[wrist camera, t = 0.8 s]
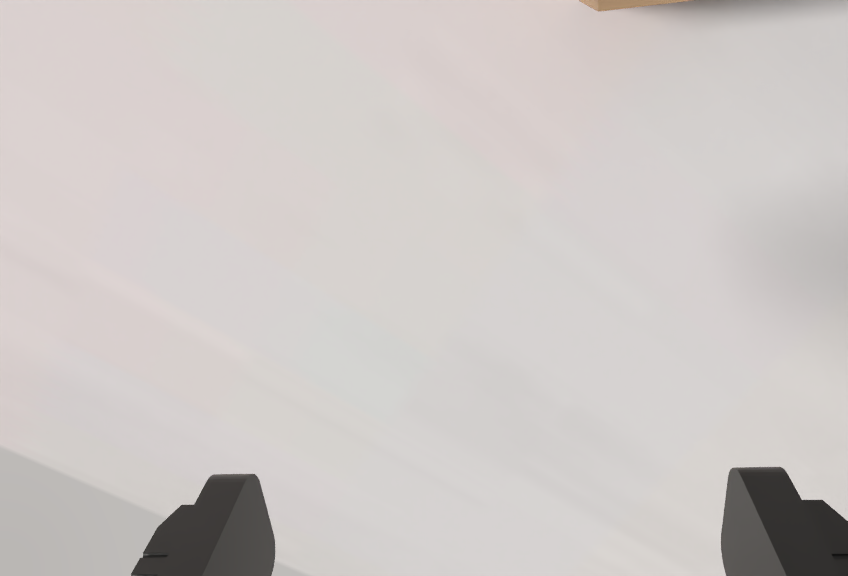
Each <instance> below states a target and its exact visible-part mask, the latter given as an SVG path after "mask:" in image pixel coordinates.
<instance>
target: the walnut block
mask: <svg viewBox="0 0 848 576" xmlns="http://www.w3.org/2000/svg"><path fill="white" fill-rule="evenodd" d="M579 1H581V2H582V3H584V4H586V5H588V6H589V7H591V8H593V9H595V10H597V11H607V10H615V9H624V8H632V7H641V6H649V5H658V4H667V3H675V2H684V1H692V0H579Z"/></svg>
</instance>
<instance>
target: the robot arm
mask: <svg viewBox="0 0 848 576" xmlns="http://www.w3.org/2000/svg"><path fill="white" fill-rule="evenodd" d="M721 550H722V559H723V564H724V569H725V572H726V576H848V521H847V520H845V519H844V518H843V517H842V516H841V515H840V514H838V513H837V512H836V511H835V510H834V509H832V508H831V507H830V506H829V505H828V504H827V503H825V502H824V501H823V500H801V498H800V496H799V494H798V492H797V490H796V489H795V487H794V485H793V483H792V481H791V479H790V478H789V476H788V474H787V473H786V471H785V470H784V469H783V468H781V467H745V468H732V469H731V470H730V472H729V476H728V483H727V491H726V500H725V508H724V516H723V525H722V533H721ZM274 560H275V539H274V534H273V530H272V527H271V523H270V519H269V515H268V511H267V508H266V504H265V500H264V496H263V492H262V489H261V485H260V481H259V479H258V477H257V476H256V475H255V474H218V475H212V476H211V477H210V478H209V479H208V480H207V482H206V484H205V486H204V487H203V489H202V491H201V493H200V495H199V497H198V499H197V501H196V503H195V504H194V505H181V506H180V507H179V508H178V509H177V510H176V511H175V512H174V513H172V514H171V515H170V516H169V517H168V518H167V519H166V520H165V521H164V522H163V523H162V524H161V525H160V526H159V527H158V528H157V530H156V531H155V533H154V535H153V536H152V538H151V540H150V542H149V544H148V545H147V547H146V549H145V551H144V552H143V558H140V560H139V561H138V563H137V565H136V566H135V568H134V570H133V572H132V573H131V576H271V574H272V571H273V567H274Z"/></svg>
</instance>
